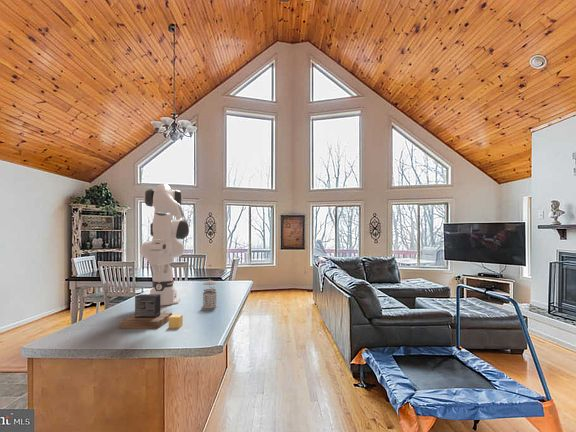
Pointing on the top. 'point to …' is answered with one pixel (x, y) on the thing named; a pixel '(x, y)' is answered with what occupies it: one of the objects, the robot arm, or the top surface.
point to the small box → (147, 306)
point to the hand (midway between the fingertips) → (161, 274)
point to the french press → (209, 295)
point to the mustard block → (175, 321)
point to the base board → (145, 321)
